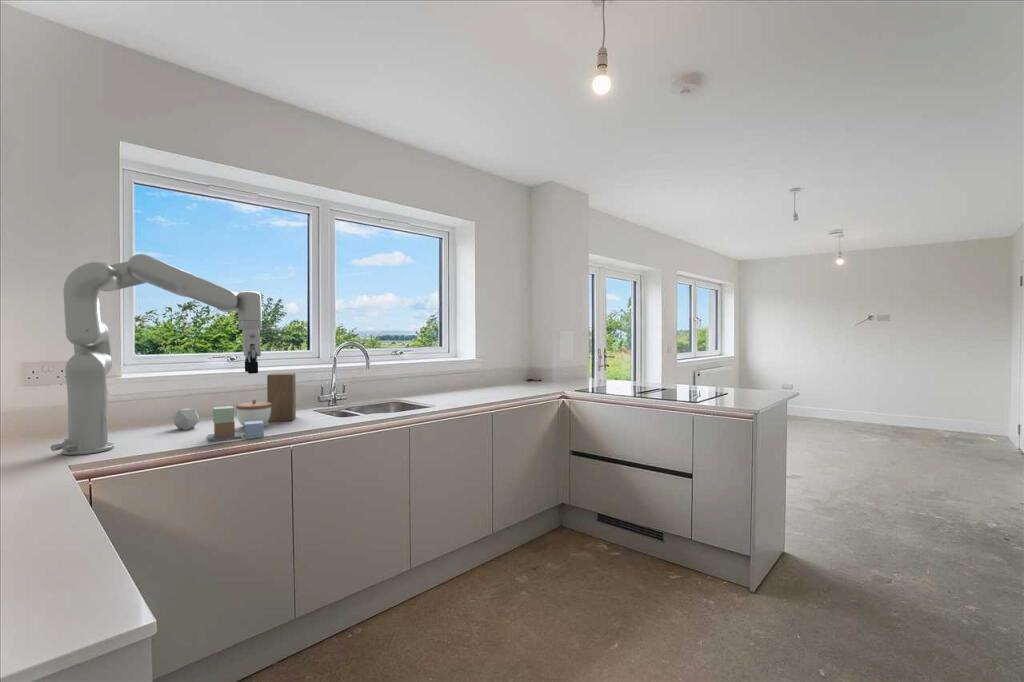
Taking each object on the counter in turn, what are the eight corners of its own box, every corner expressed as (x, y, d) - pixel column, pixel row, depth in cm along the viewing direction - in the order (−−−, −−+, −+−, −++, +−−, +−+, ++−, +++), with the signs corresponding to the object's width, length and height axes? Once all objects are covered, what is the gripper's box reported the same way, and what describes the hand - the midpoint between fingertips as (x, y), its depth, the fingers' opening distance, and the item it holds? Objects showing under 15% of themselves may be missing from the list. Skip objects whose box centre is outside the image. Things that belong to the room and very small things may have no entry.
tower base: (241, 438, 176) (241, 422, 176) (208, 441, 170) (208, 424, 170) (239, 433, 184) (238, 418, 184) (207, 436, 179) (207, 420, 179)
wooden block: (271, 418, 218) (270, 372, 217) (295, 417, 221) (295, 372, 220) (267, 422, 208) (266, 374, 208) (293, 420, 211) (292, 374, 211)
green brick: (233, 421, 176) (233, 407, 176) (214, 423, 173) (214, 409, 173) (232, 419, 181) (232, 405, 181) (213, 421, 178) (212, 407, 178)
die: (204, 429, 195) (202, 408, 200) (190, 422, 188) (188, 400, 192) (183, 437, 194) (182, 415, 199) (168, 430, 187) (167, 408, 191)
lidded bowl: (238, 431, 189) (238, 402, 189) (234, 426, 199) (234, 398, 199) (274, 427, 196) (274, 399, 196) (268, 422, 207) (268, 396, 206)
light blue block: (263, 436, 180) (263, 423, 180) (245, 438, 177) (245, 424, 176) (262, 433, 185) (262, 420, 185) (244, 435, 182) (244, 421, 182)
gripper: (265, 325, 175) (266, 373, 175) (258, 325, 189) (259, 370, 189) (240, 325, 170) (242, 374, 171) (236, 326, 185) (237, 371, 185)
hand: (251, 372), depth 180 cm, fingers open, 9 cm apart
